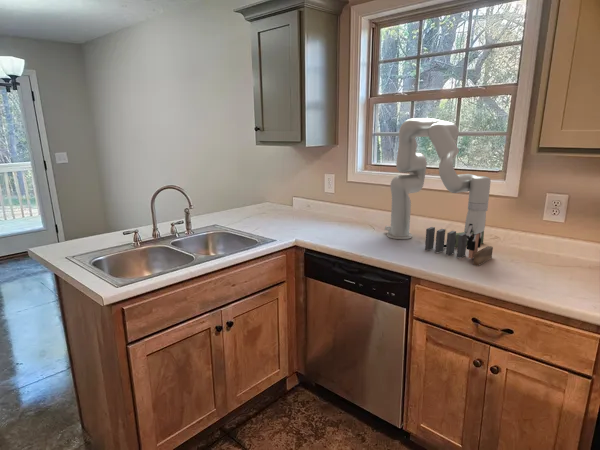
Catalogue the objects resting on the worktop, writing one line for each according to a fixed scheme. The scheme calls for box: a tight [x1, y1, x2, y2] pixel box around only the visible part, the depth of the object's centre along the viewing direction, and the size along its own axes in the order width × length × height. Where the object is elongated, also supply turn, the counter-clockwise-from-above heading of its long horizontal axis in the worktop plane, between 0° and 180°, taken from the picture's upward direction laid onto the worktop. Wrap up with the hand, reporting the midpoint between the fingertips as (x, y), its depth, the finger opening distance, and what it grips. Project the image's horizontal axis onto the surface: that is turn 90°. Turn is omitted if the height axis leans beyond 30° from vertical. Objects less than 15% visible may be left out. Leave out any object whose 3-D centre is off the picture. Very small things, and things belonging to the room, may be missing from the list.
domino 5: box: [467, 233, 479, 260], centre depth 166 cm, size 2×5×10 cm, turn 134°
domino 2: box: [434, 228, 446, 254], centre depth 177 cm, size 2×5×10 cm, turn 134°
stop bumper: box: [472, 245, 494, 267], centre depth 164 cm, size 2×14×5 cm, turn 134°
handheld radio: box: [444, 230, 485, 248], centre depth 185 cm, size 7×3×25 cm
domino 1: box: [424, 226, 436, 251], centre depth 180 cm, size 2×5×10 cm, turn 134°
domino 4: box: [456, 233, 467, 259], centre depth 170 cm, size 2×5×10 cm, turn 134°
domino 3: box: [445, 230, 457, 256], centre depth 173 cm, size 2×5×10 cm, turn 134°
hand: (473, 248), depth 166 cm, fingers closed on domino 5, 4 cm apart
